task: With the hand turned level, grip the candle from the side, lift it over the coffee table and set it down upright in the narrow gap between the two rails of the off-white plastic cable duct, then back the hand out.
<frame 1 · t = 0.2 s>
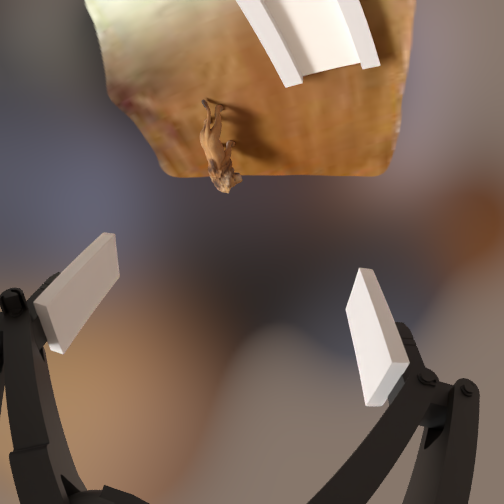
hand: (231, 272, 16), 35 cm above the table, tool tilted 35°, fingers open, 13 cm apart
cable duct: (311, 21, 31), on the table
lion figurine: (223, 132, 52), on the table
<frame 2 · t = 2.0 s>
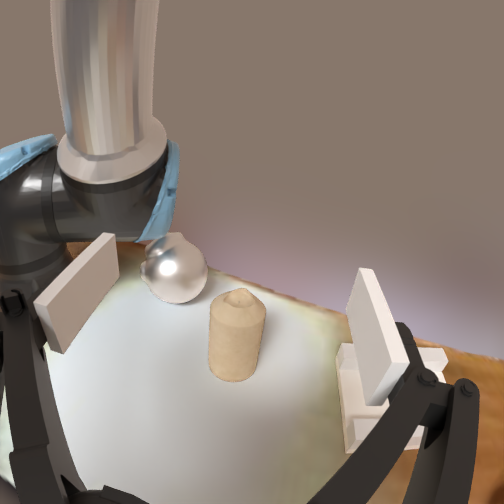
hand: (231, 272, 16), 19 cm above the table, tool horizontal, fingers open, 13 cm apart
cable duct: (398, 402, 31), on the table
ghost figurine: (174, 297, 45), on the table
candle: (232, 365, 35), on the table
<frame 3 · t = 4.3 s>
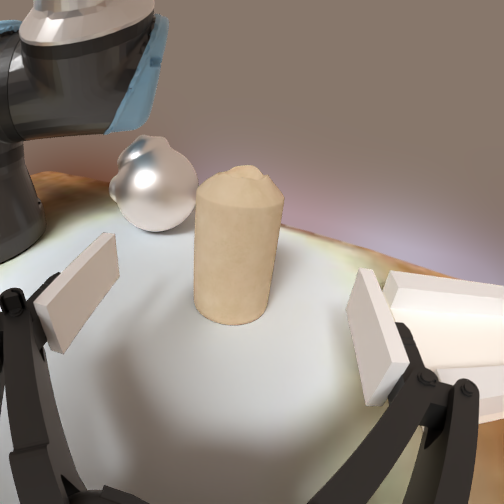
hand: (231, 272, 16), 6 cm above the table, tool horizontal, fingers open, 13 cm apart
cable duct: (474, 354, 20), on the table
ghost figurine: (154, 228, 34), on the table
candle: (230, 303, 24), on the table
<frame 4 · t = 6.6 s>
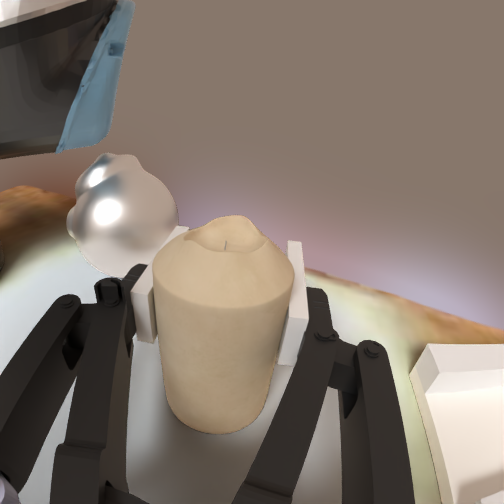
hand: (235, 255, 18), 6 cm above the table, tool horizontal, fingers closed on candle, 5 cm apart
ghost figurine: (126, 270, 26), on the table
candle: (215, 396, 16), on the table, touching gripper
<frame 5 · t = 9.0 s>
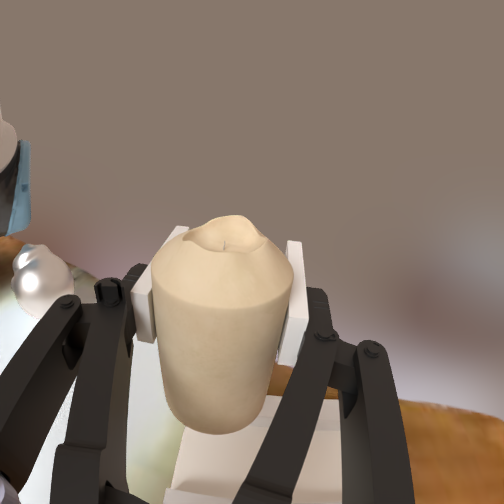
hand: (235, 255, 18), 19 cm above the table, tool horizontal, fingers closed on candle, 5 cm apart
cable duct: (263, 469, 23), on the table
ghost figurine: (50, 312, 36), on the table
candle: (214, 396, 16), point 13 cm above the table, touching gripper
when the fingers open (9 cm above the table, at t = 11.4 s): candle drops 2 cm, resting on cable duct.
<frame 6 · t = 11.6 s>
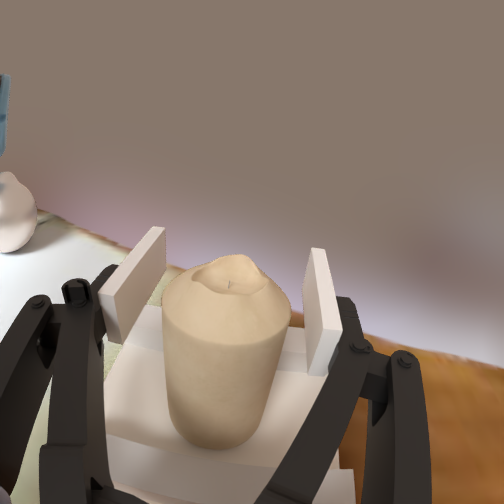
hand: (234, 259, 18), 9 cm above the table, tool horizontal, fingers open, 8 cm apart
cable duct: (214, 419, 18), on the table
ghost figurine: (12, 248, 32), on the table
candle: (214, 414, 17), point 1 cm above the table, touching cable duct
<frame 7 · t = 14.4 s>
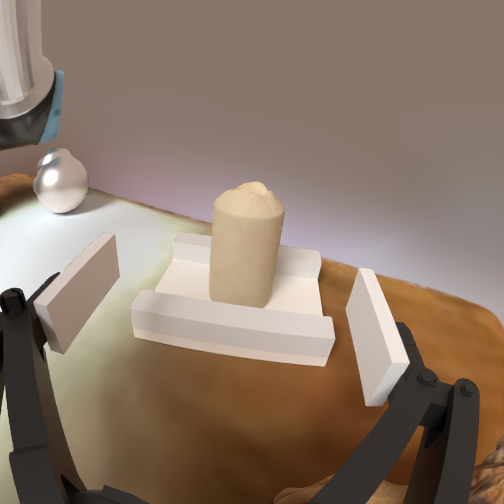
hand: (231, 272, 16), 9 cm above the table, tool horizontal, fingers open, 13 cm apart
cable duct: (238, 302, 29), on the table
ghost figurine: (63, 211, 43), on the table
candle: (239, 296, 28), point 1 cm above the table, touching cable duct
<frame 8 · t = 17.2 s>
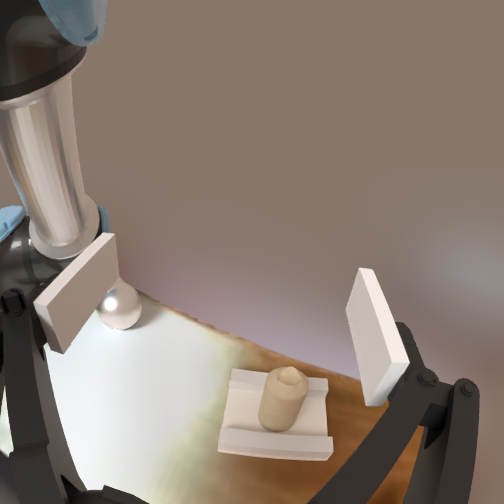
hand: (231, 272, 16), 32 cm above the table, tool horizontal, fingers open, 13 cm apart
cable duct: (275, 419, 42), on the table
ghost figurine: (120, 323, 56), on the table
candle: (276, 417, 41), point 1 cm above the table, touching cable duct
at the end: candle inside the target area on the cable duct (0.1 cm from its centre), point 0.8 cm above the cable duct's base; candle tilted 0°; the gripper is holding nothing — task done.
